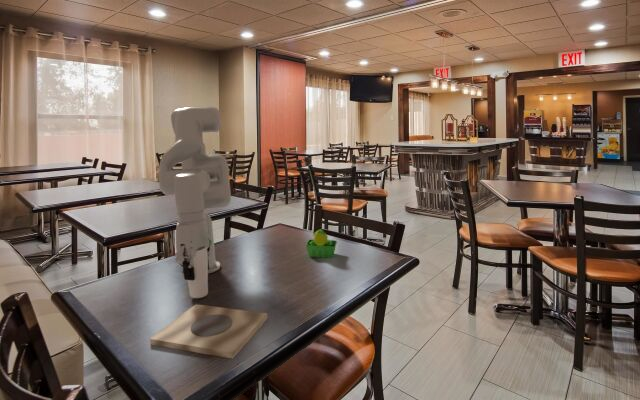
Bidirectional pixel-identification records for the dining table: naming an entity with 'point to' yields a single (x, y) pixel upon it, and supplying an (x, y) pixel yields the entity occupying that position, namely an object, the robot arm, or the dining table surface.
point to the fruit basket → (321, 245)
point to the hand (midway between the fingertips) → (197, 274)
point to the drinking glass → (199, 274)
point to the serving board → (210, 330)
